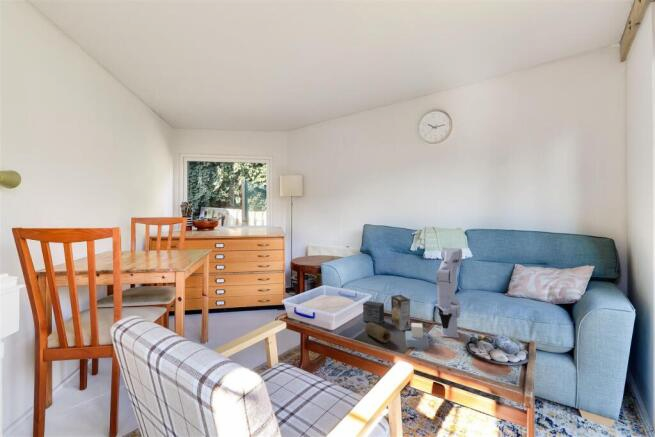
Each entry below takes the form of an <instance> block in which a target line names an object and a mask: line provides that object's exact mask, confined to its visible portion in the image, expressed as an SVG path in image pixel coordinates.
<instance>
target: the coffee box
mask: <svg viewBox="0 0 655 437" xmlns="http://www.w3.org/2000/svg"><path fill="white" fill-rule="evenodd" d="M390 299H391V300H390V301H391V302H390V303H391V306H390V307H391V325H392V326H393V327H395V328H396V329H397V330H399V331H407V330H410V329H411V299H410V298H407V296H404V295H402V294H397V295H392V296H390Z"/></svg>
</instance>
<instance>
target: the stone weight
mask: <svg viewBox="0 0 655 437" xmlns="http://www.w3.org/2000/svg"><path fill="white" fill-rule="evenodd" d="M364 330H365V333H367V334H368V335H369V336H371V337H372V338H374V339H376V340H377V341H379V342H381V343H388V342H389V341H390V340H391V335H392V334H391V331H389V330H388V329H387V328H385V327H383V326H381V325H379V324H375V323H372V322H366V324H365V325H364Z"/></svg>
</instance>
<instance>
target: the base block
mask: <svg viewBox="0 0 655 437" xmlns="http://www.w3.org/2000/svg"><path fill="white" fill-rule="evenodd" d="M404 332H405V345H406V348H410V347H418V348H417V349H425V348H429V349H430V339H429V336H428V333H427V331H423V338H415V337H412V331H411V330H404Z"/></svg>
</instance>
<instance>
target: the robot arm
mask: <svg viewBox="0 0 655 437" xmlns="http://www.w3.org/2000/svg"><path fill="white" fill-rule="evenodd" d="M440 258H441V263H440V265H439V268H438V269H437V270H436V272H435V280H436V286H437V303H435V304H434V307H435V308H437V312H438V313H437V314H438V315H439V319H440V321H441V328H440V329H439V330H440V334H441V337H445V338H455V339H459V338H460V336H459V333H458V319H459V318H460V316H461V302H460V301H459V300H458V299H457V298H456V282H457V269H458V267H460V266H462V262H463V249H462V248H460V247H459V248H458V247H455V248H454V247H442V248H441V250H440Z"/></svg>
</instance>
